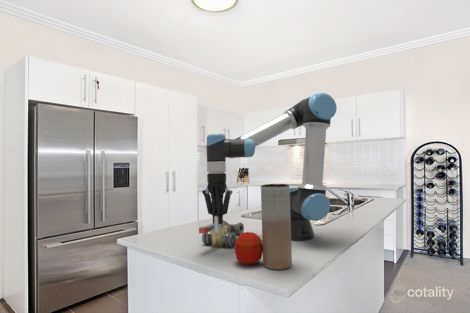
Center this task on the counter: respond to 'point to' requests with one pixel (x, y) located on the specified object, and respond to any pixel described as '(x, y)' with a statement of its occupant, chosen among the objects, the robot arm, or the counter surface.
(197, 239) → the counter surface
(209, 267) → the counter surface
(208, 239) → the valve pipe
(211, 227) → the lever
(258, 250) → the apple
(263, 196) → the vase
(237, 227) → the pipe
